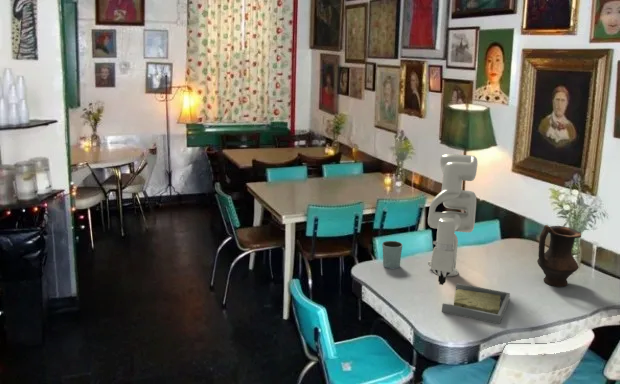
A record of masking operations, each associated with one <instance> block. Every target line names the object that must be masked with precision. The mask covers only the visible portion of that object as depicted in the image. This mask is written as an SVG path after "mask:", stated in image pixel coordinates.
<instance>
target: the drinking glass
mask: <svg viewBox="0 0 620 384" xmlns="http://www.w3.org/2000/svg"><path fill="white" fill-rule="evenodd" d="M402 250H403V243H402V242H400V241H396V240H385V241H383V242H382V266H383V267H384V268H386V269H392V270H394V269H400V266H401V256H402V252H403V251H402Z"/></svg>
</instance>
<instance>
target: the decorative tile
mask: <svg viewBox="0 0 620 384" xmlns="http://www.w3.org/2000/svg"><path fill="white" fill-rule="evenodd" d="M453 299H454V300H453V305H454V306H459V307H464V308H469V309H474V310H478V311H483V312H488V313H493V314H498V312H499V310H500V308H501V300H500V299H501V298H500V295H494V294H488V293H482V292H474V291H466V290H461V289H457V290H456V289H455V292H454V297H453Z"/></svg>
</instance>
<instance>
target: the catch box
mask: <svg viewBox="0 0 620 384" xmlns="http://www.w3.org/2000/svg"><path fill="white" fill-rule="evenodd" d="M457 289H461V290H466V291H474V292H482V293H488V294H494V295H500V298H501V299H500V301H503V302H502V303H501V305H500V310H499V312H498V314H493V313H488V312H483V311H478V310H474V309H469V308H464V307H459V306H454V304H448V303H442V304H441V305H442V307H441V313H445V314H448V315H449V314H451V315H456V316H460V317H465V318H468V319H469V318H470V319H472V320H473V319H475V320H478V321H483V322H489V323H493V324H498V325H499V324H500V323H501V321H502V318H503V316H504V314H505V312H506V309H507V307H508V304H509V303H510V297H511V293H510V292H505V291H500V290H494V289H489V288H484V287H481V286H480V287H479V286H473V285H469V284H464V283H463V284H462V283H458V282H456V284H455V291H456V290H457Z"/></svg>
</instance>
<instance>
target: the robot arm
mask: <svg viewBox="0 0 620 384" xmlns="http://www.w3.org/2000/svg"><path fill="white" fill-rule="evenodd" d="M439 161H440V163H439V164H440V168H441V172H442V185H441V191H440V192H439V193H438V194H437V195H435V196H434V197H433V199H432V200H431V202H430V205H429V210H428V217H427V224H428V226H429V227H430V228H432V229H437V231H436V240H433V241H432V245H435V246H434V247H433V250H432V255H431V260H428V263H427V265H428V266H429V267H430V270H431V271H432V272H433V274H435V275H437V276H438V280H437V281H438V284H439V285H441V286H443V285H444V284H445V283H446V282H447V281H446V280H447V277H455V276H457V275H458V274H459V269H458V268H456V267H457V256H458V255H457V254H458V244H459V239H458V237H457V235H456V233H455V232H459V233H472V232H473V230H474V229H475V222H476V212H477V195H476V193H475V192H474V191H472V190H464V189H462V188H463V187H462V186H463V181H464V182H466V181H467V182H472V181H474V180H475V178H476V176H477V170H478V158H477V157H476V156H475V155H468V154H456V153H453V154H452V153H445V154H443V155H441V157H440V159H439ZM440 204H443V206H444V207H445V208H447V209H453V210H463V211H465V212H459V211H450V210H447V211H446V210H445V211H442V212H441V211H436V209H437V207H438V206H439V205H440Z"/></svg>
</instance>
